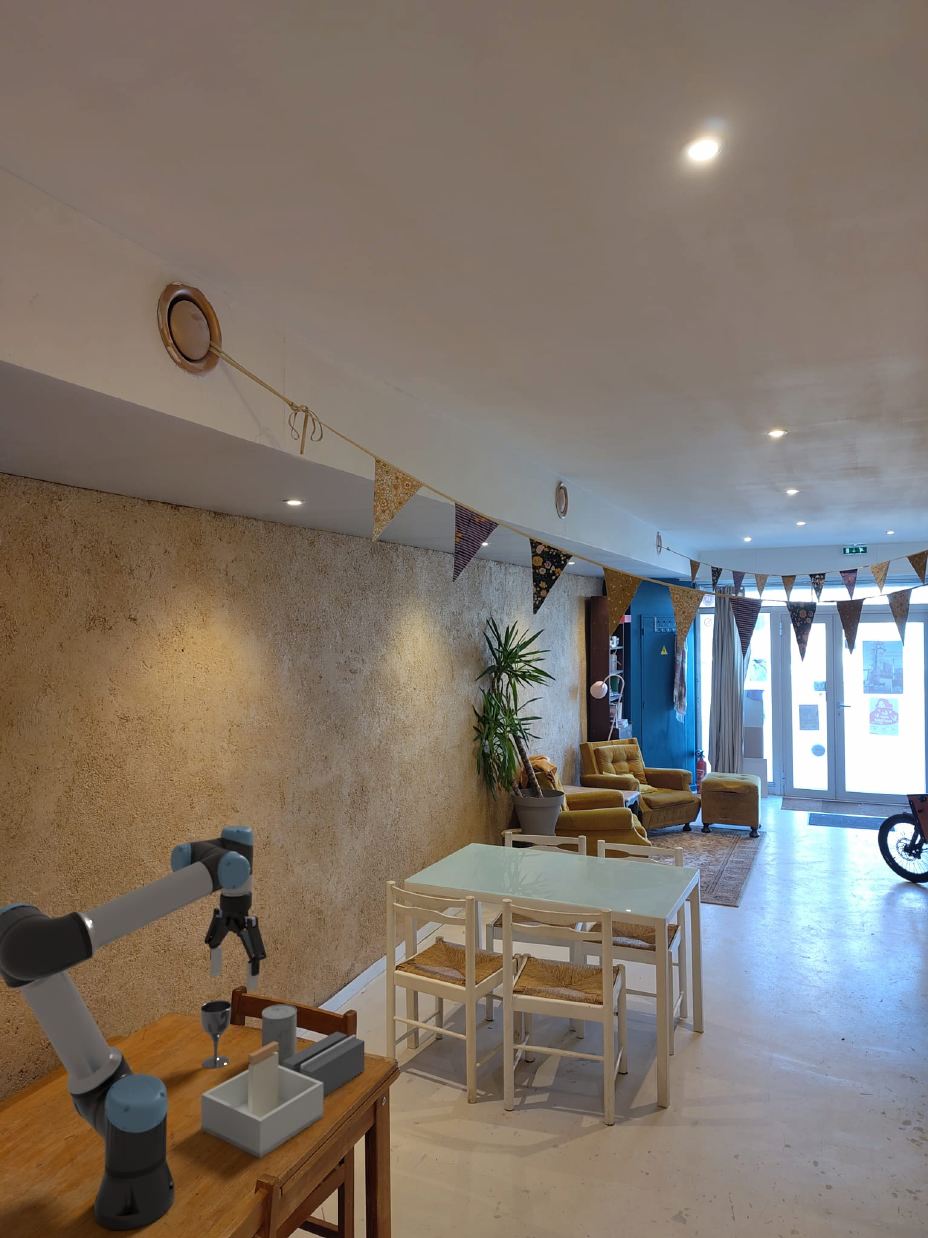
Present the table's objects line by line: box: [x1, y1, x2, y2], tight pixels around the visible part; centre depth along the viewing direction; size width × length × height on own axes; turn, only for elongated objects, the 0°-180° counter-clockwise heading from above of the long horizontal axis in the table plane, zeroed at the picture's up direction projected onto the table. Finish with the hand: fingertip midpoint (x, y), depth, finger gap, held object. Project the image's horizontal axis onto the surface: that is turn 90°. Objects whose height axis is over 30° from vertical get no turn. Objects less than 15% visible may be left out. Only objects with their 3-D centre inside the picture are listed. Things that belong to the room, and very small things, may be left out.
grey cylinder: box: [261, 1003, 298, 1066], centre depth 230 cm, size 10×10×12 cm
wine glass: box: [200, 999, 232, 1070], centre depth 227 cm, size 8×8×15 cm
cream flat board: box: [247, 1041, 279, 1118], centre depth 198 cm, size 8×2×16 cm, turn 146°
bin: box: [200, 1065, 324, 1159], centre depth 198 cm, size 20×20×8 cm
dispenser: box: [282, 1031, 365, 1098], centre depth 217 cm, size 20×10×9 cm, turn 146°
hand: (233, 982), depth 199 cm, fingers open, 13 cm apart
